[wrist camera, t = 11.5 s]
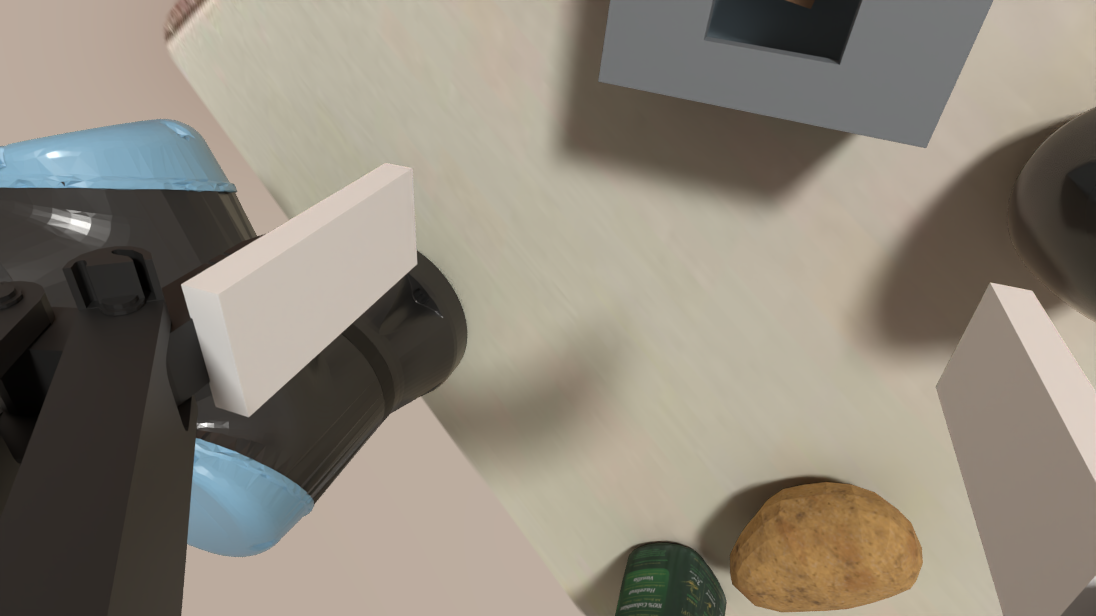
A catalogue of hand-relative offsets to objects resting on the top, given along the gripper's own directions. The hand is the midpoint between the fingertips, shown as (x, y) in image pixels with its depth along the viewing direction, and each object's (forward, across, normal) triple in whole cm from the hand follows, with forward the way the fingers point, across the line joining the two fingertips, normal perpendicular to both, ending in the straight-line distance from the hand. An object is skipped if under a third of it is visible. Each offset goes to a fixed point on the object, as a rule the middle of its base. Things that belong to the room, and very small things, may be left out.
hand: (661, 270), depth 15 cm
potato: (+26, -13, +31) cm, 43 cm away
